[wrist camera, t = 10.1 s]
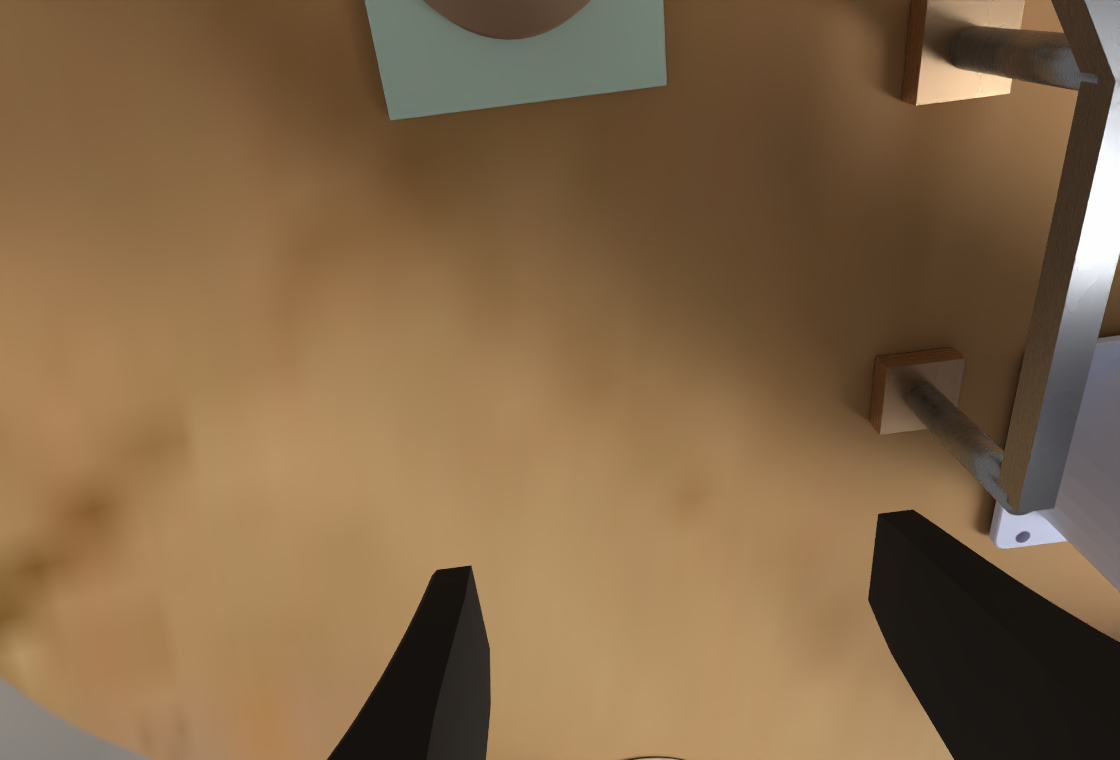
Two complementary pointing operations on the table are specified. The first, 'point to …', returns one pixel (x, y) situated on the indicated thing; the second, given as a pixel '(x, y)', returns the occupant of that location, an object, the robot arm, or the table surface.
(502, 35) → the brown domed cylinder
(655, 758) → the teacup and saucer
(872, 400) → the buzz wire
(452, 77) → the pad
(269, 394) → the table surface
